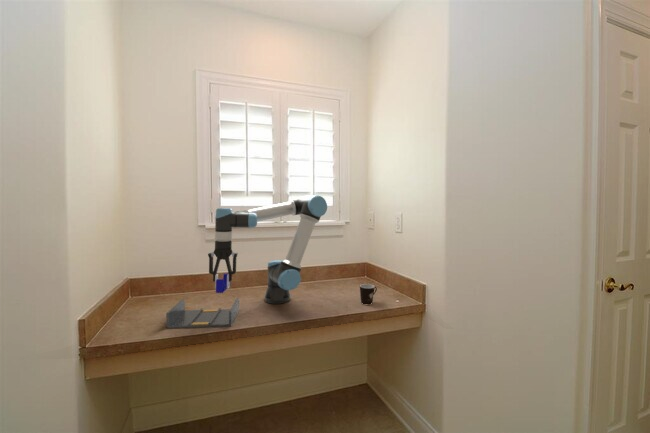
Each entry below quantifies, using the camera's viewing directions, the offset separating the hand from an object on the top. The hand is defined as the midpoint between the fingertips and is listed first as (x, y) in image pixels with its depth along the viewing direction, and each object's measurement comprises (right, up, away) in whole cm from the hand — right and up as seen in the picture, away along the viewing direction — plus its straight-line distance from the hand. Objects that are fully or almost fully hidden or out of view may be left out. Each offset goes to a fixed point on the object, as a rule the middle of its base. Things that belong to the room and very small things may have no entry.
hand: (222, 287), depth 133 cm
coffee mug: (+75, -16, +26) cm, 81 cm away
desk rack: (-8, -15, 0) cm, 17 cm away
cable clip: (0, -1, -1) cm, 1 cm away
